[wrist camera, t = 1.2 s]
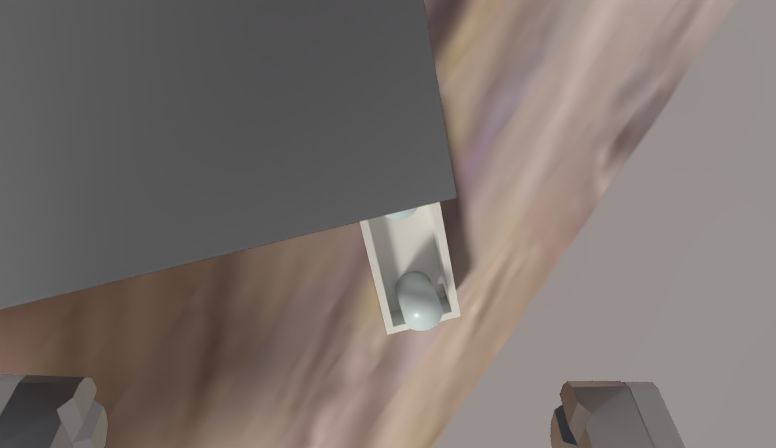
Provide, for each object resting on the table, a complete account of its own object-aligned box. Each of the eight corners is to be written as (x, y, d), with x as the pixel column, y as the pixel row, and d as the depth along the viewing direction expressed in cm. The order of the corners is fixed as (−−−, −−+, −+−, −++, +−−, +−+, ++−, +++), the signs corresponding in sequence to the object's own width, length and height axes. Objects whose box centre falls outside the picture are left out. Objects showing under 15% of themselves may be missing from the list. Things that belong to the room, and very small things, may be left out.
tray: (451, 297, 52) (466, 328, 48) (382, 314, 52) (390, 347, 48) (422, 138, 46) (435, 158, 42) (343, 157, 46) (349, 179, 42)
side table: (404, 117, 45) (456, 197, 31) (78, 194, 44) (-24, 315, 30) (363, -94, 39) (404, -116, 25) (-14, -10, 38) (-199, 18, 24)
